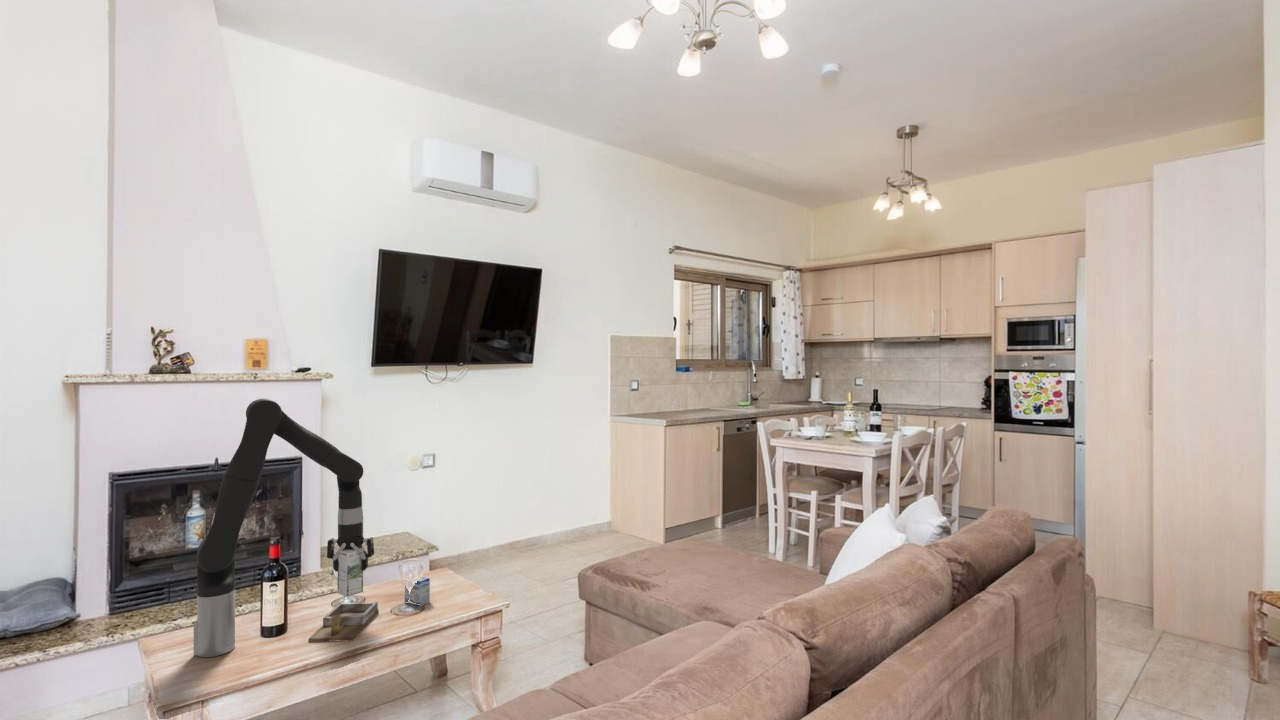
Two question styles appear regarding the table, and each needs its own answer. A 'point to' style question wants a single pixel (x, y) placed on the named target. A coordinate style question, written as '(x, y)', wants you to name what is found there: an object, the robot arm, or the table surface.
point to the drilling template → (345, 621)
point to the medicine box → (419, 592)
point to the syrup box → (350, 573)
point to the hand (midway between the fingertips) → (350, 570)
